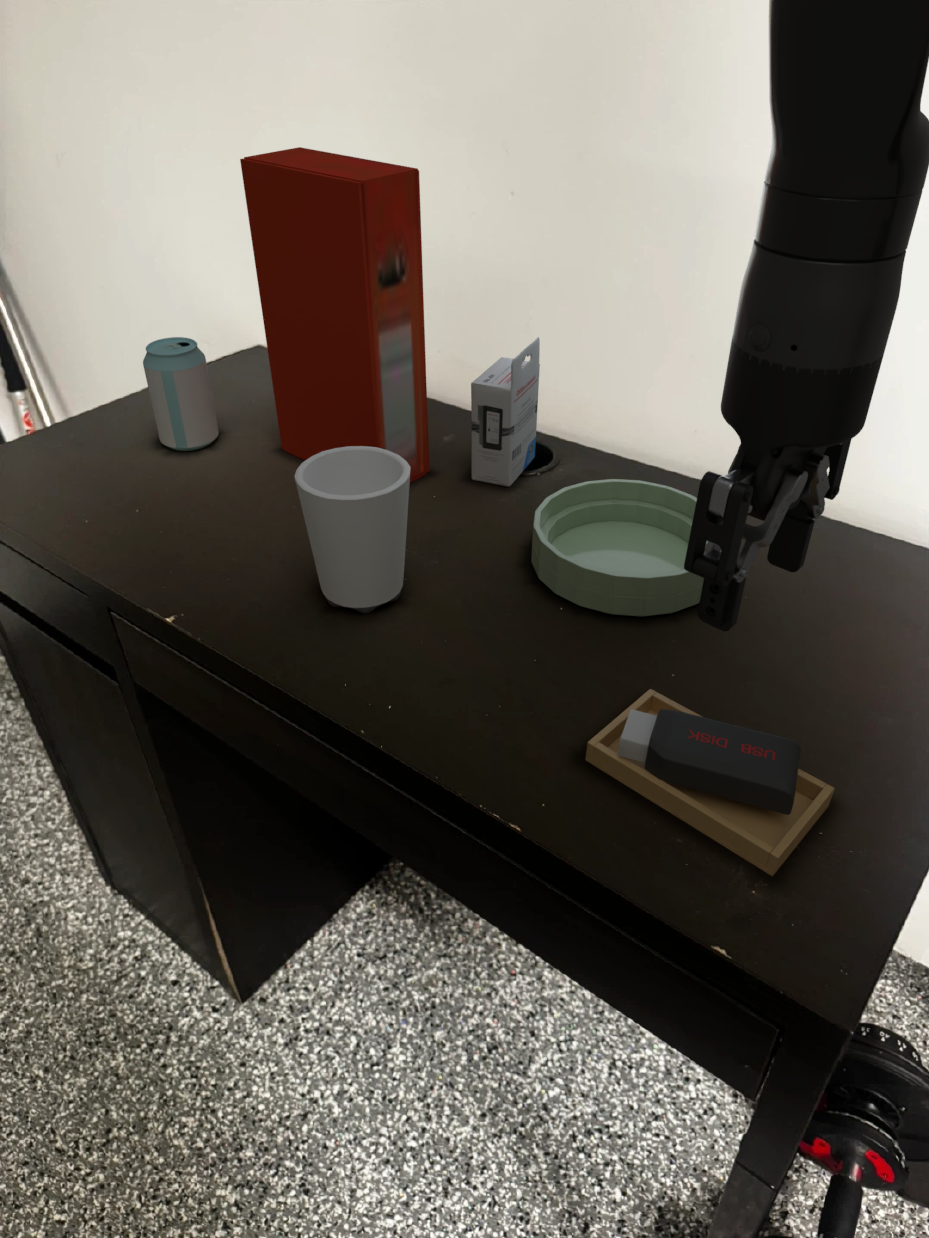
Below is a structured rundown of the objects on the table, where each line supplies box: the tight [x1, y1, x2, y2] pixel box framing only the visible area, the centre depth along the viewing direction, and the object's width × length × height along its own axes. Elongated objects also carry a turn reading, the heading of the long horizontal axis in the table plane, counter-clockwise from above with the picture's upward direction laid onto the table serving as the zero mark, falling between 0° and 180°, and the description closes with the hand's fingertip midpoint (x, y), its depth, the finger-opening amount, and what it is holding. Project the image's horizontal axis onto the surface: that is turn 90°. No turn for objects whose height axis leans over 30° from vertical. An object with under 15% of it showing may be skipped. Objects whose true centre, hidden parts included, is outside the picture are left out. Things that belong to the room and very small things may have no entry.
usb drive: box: [618, 709, 801, 815], centre depth 62 cm, size 5×12×3 cm, turn 69°
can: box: [142, 336, 220, 452], centre depth 106 cm, size 7×7×12 cm
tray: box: [584, 688, 836, 877], centre depth 64 cm, size 15×8×2 cm, turn 47°
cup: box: [294, 446, 411, 614], centre depth 80 cm, size 10×10×13 cm
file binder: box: [239, 147, 430, 483], centre depth 95 cm, size 8×17×32 cm, turn 48°
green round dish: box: [530, 478, 708, 617], centre depth 86 cm, size 18×18×4 cm
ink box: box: [470, 336, 541, 488], centre depth 99 cm, size 8×5×15 cm, turn 156°
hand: (751, 593), depth 55 cm, fingers open, 8 cm apart
